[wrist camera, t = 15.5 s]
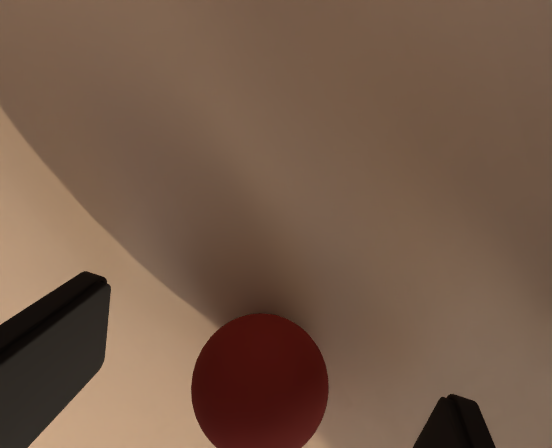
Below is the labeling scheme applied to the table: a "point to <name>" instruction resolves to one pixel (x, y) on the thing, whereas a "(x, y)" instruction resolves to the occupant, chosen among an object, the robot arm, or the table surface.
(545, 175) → the table surface
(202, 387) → the red ball
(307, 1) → the table surface
